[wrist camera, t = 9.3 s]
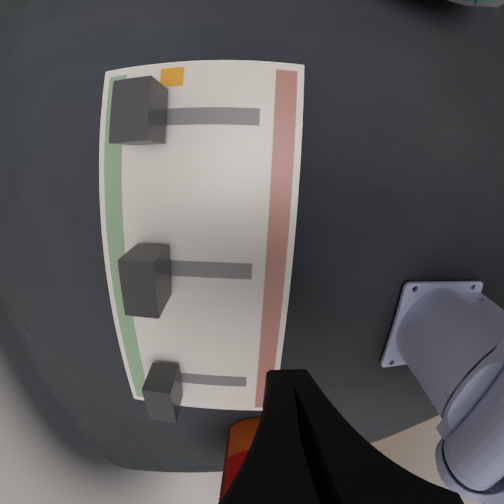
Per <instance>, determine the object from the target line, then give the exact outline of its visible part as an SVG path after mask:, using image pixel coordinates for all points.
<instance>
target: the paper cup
mask: <svg viewBox="0 0 504 504" xmlns="http://www.w3.org/2000/svg"><path fill="white" fill-rule="evenodd" d="M260 418H261V417H254V418H247V419H243V420H240V421H238V422H236V423H235V424H234V425H232V427H231V428H230V431H229V435H228V440H227V447H226V454H225V461H224V468H223V476H222V483H221V491H220V498H219V502H220V500H221V499H222V497H223V496H224V494H225V493H226V491H227V490H228V488H229V487H230V485H231V483H232V482H233V480H234V478H235V476H236V474H237V473H238V471H239V469H240V467H241V465H242V463H243V461H244V459H245V457H246V455H247V453H248V450H249V448H250V446H251V443H252V441H253V438H254V436H255V433H256V430H257V427H258V424H259V421H260Z"/></svg>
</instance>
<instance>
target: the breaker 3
mask: <svg viewBox="0 0 504 504" xmlns="http://www.w3.org/2000/svg"><path fill="white" fill-rule="evenodd" d="M142 393H143V397H144V401H145V404H146V407H147V411H148V414H149V417H150V419H154V420H160V421H167V422H174V423H177V418H178V414H179V410H180V405H181V401H182V397H183V391H182V385H181V378H180V370H179V365H170V364H162V363H154V362H153V363H152V365H151V368H150V370H149V373H148V375H147V377H146V380H145V382H144V385H143V387H142Z"/></svg>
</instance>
